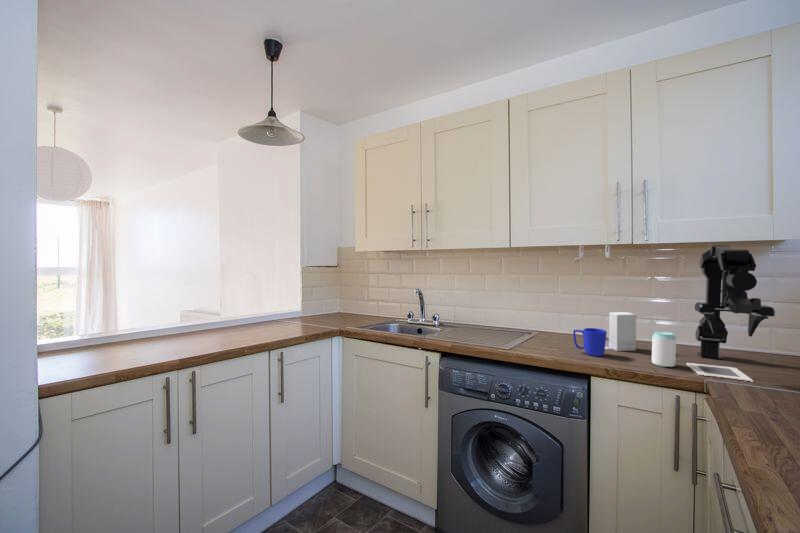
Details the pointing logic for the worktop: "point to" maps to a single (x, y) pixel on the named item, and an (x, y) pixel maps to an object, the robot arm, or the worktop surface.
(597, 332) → the mug
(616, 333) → the skincare box
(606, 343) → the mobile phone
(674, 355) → the can
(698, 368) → the dock
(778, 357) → the worktop surface
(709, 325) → the robot arm
